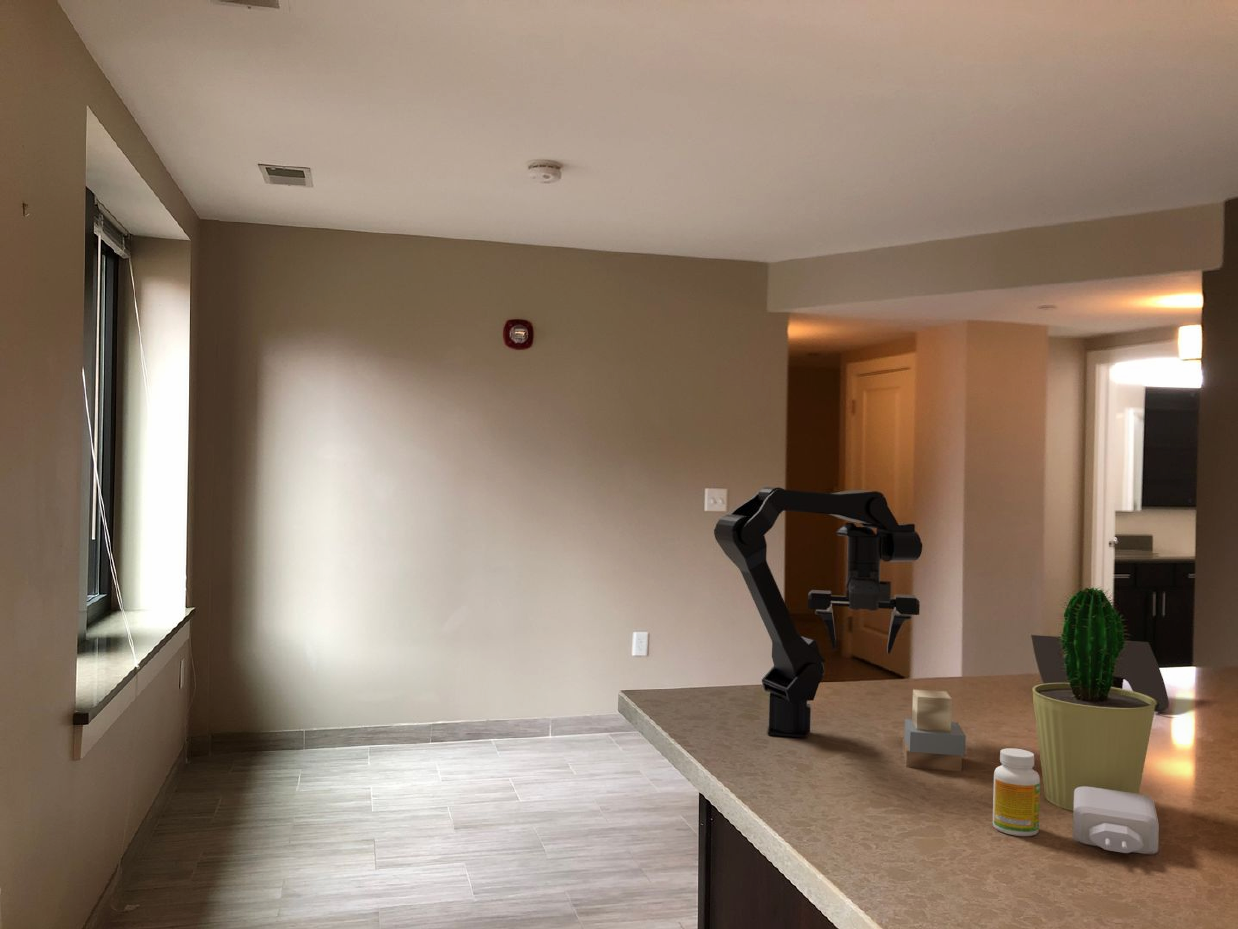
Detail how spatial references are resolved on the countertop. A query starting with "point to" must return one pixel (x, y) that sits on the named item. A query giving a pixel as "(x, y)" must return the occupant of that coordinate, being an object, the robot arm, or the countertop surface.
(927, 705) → the birch cube
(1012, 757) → the supplement bottle
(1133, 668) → the portable electronic device stand
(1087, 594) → the potted cactus
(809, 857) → the countertop surface
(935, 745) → the slate block
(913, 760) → the walnut block
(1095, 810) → the charger
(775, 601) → the robot arm
